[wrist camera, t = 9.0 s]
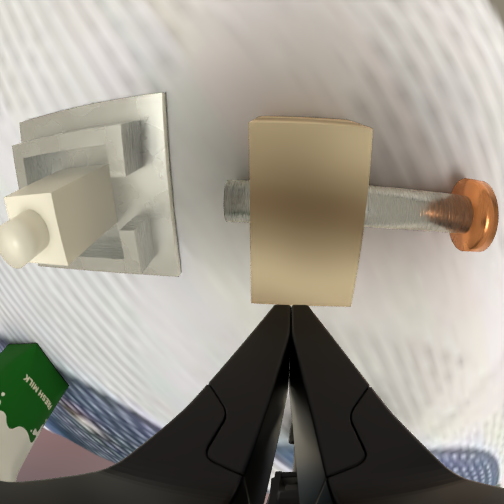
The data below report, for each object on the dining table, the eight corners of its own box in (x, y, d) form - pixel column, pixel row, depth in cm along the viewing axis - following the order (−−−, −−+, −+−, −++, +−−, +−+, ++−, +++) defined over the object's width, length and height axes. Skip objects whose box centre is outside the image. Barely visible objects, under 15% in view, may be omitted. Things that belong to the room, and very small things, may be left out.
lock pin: (457, 234, 18) (486, 264, 14) (235, 223, 20) (222, 255, 16) (468, 173, 16) (504, 193, 12) (233, 154, 18) (217, 170, 14)
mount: (337, 256, 20) (350, 306, 15) (260, 253, 21) (251, 303, 16) (348, 120, 16) (372, 128, 12) (259, 116, 17) (248, 122, 12)
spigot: (117, 222, 20) (47, 285, 13) (72, 222, 20) (0, 278, 13) (109, 163, 18) (25, 207, 11) (62, 168, 19) (-21, 210, 12)
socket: (181, 272, 22) (167, 296, 19) (52, 263, 23) (32, 281, 21) (165, 92, 17) (144, 92, 14) (24, 121, 18) (-3, 128, 15)
